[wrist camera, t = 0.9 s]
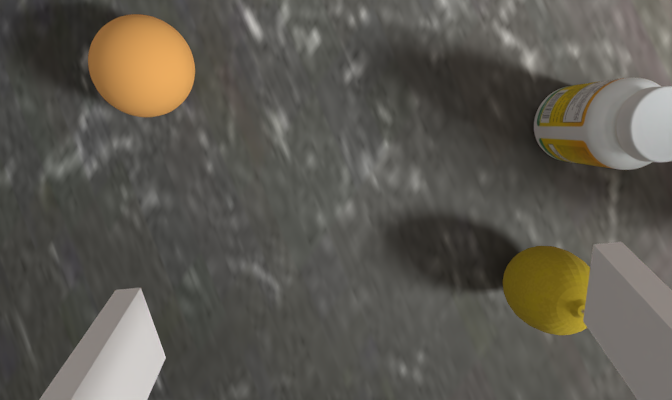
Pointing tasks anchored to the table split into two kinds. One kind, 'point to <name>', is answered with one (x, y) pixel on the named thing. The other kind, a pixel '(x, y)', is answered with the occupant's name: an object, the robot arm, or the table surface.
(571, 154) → the supplement bottle
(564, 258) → the lemon
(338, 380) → the table surface
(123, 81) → the ball
